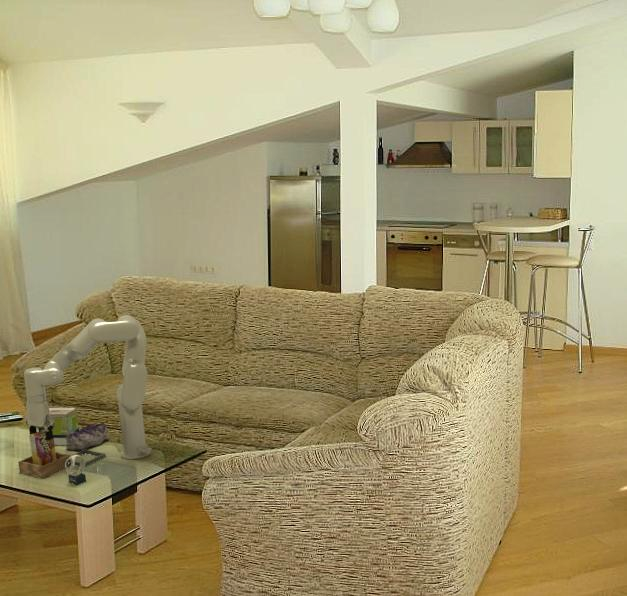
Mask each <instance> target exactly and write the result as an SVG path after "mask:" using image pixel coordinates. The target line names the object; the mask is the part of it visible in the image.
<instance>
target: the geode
mask: <svg viewBox="0 0 627 596" xmlns="http://www.w3.org/2000/svg"><path fill="white" fill-rule="evenodd" d="M106 441H109V430H108V427H107V426H106V425H105V423H104V422H101V423H98V424H96V423H93V424H87V425H86V426H83V427H82V428H79V430H76V431H72V432H71V434H68V435H67V436H66V445H65V448H66V451H79V452H80V451H83V450H87V449H89V448H92V447H93V448H94V447H97V446H101V445H102V444H103V442H106Z"/></svg>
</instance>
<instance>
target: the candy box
mask: <svg viewBox="0 0 627 596" xmlns="http://www.w3.org/2000/svg"><path fill="white" fill-rule="evenodd" d="M45 431H46V430H42V431H39V430H38V431H37V432H36V433H33V434H31V435H30V434H29V436H28V438H29V444H30V449H31V450H30V451H31V456H32V458H33V464H35V465H40V466H44V465H46V464H49V463H51V462H53V461H55V460H57V459H56V452H57V451H56V448H55V446H56V445H54V438H53V439H51V440H49V441H47V440H46V434H45Z"/></svg>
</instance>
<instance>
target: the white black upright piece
mask: <svg viewBox="0 0 627 596" xmlns="http://www.w3.org/2000/svg"><path fill="white" fill-rule="evenodd" d="M72 455H73V456H71V455H70V456H71V457H70V458H68V459H67V460H66V462H65V469H64V470H65V471H66V472H67V474H68V475H67V476H68V483H70V484H72V483H73V484H72V485H74V484H75V485H74V486H79V485H81V483H82V484H84V483H83V482H85V483H87V478H86V477H87V476H86V474H85V473H83V472H84V470H85V468H86V467H85V462H86V460H85V458H84V457H83V455H81V456H79V455H74V454H72ZM76 457H77V458H80V460H81V461H80V462H81V464H80V466H79V467H78V471H76V472H73V473H72V470H73V469H74V468H75V467H76V466H75V461H76V459H77V458H76Z"/></svg>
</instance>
